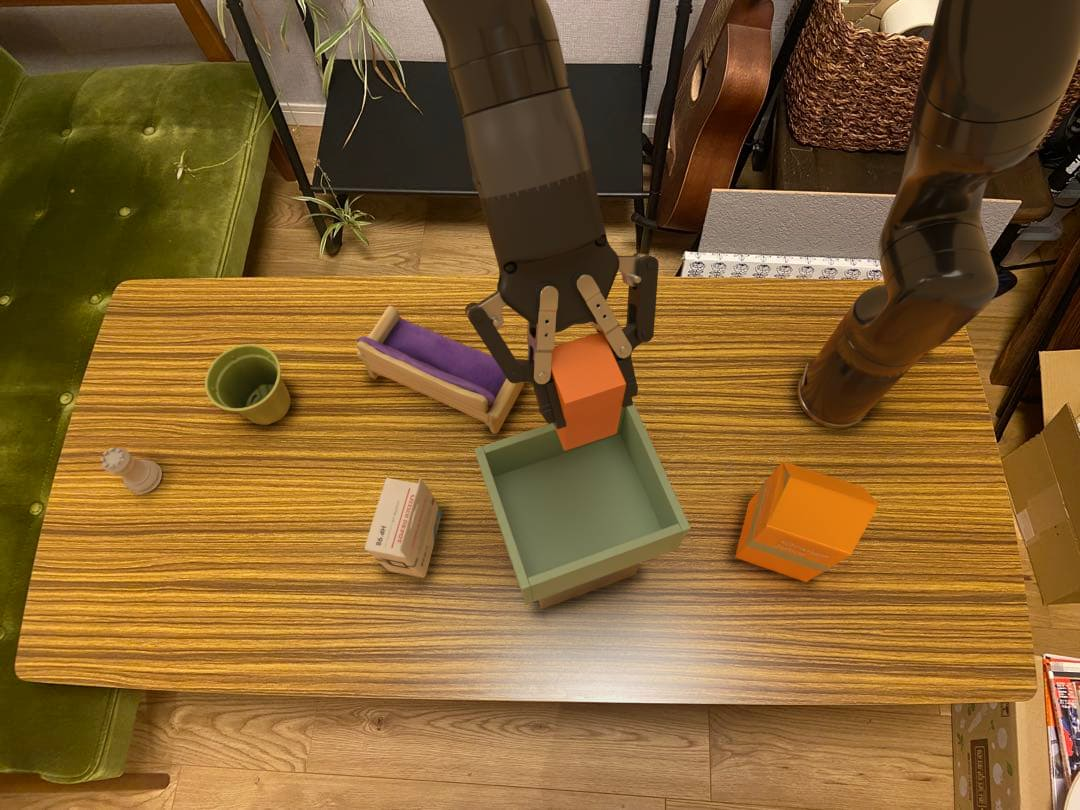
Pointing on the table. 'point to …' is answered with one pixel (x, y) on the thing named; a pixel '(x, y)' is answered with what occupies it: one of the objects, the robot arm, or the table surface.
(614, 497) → the square open-top tray
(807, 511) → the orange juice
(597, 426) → the orange rectangular block
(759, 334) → the table surface
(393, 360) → the toy sofa
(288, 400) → the plant pot
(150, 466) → the rook chess piece
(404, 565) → the ink box
